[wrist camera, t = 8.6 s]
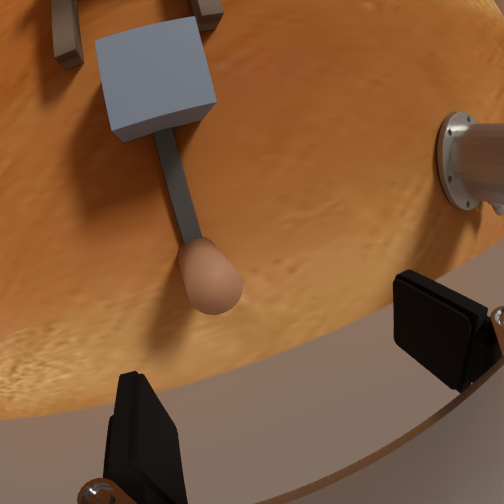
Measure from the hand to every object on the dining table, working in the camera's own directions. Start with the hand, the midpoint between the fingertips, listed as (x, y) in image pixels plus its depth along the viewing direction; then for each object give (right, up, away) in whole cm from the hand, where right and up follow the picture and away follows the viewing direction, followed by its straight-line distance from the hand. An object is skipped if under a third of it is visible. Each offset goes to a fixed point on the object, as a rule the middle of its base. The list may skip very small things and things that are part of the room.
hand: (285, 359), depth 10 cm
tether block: (-7, +10, +11) cm, 17 cm away
